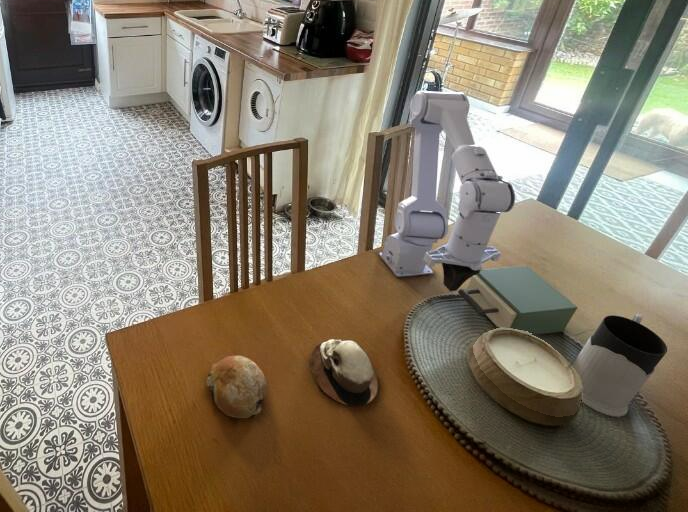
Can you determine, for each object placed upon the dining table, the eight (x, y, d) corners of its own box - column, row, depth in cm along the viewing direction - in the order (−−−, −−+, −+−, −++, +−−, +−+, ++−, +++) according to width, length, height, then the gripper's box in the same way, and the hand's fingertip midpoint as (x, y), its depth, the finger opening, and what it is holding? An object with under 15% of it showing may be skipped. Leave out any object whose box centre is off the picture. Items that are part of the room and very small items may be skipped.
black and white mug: (556, 385, 75) (592, 329, 68) (577, 344, 83) (611, 290, 76) (622, 427, 69) (668, 369, 62) (638, 378, 76) (681, 322, 70)
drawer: (482, 334, 83) (491, 316, 81) (446, 294, 93) (453, 277, 90) (552, 327, 85) (563, 309, 83) (510, 288, 94) (518, 271, 92)
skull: (293, 348, 80) (330, 313, 79) (323, 364, 85) (358, 331, 83) (328, 409, 70) (371, 370, 68) (360, 423, 74) (401, 387, 72)
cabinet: (508, 337, 84) (521, 313, 81) (466, 293, 94) (476, 269, 91) (563, 331, 85) (578, 307, 82) (515, 288, 96) (526, 265, 93)
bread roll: (239, 439, 70) (262, 426, 65) (193, 394, 72) (211, 378, 68) (260, 390, 78) (282, 375, 73) (218, 350, 80) (236, 333, 75)
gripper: (450, 252, 74) (430, 306, 79) (523, 246, 75) (497, 299, 81) (424, 227, 80) (407, 278, 86) (491, 222, 81) (470, 273, 87)
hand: (449, 287), depth 84 cm, fingers closed
